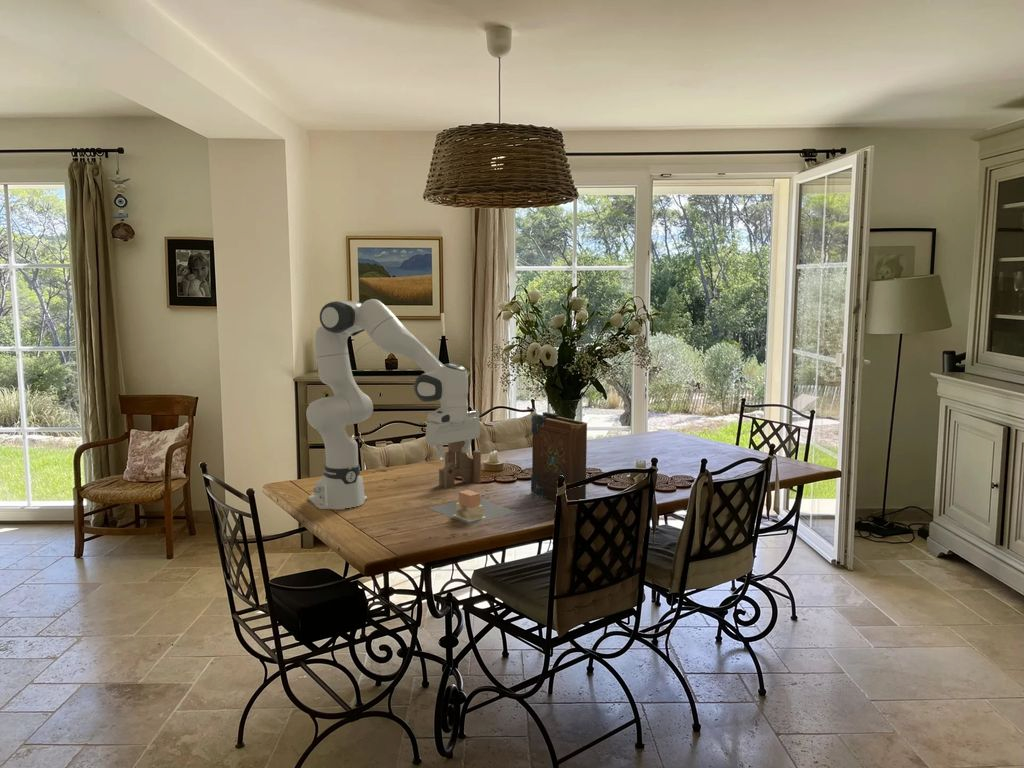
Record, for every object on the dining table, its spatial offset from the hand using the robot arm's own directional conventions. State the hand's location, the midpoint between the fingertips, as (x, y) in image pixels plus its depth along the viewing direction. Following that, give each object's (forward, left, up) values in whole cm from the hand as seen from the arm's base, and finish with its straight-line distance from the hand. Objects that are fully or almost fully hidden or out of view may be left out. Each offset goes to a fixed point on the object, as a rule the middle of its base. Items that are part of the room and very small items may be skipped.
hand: (453, 454), depth 246 cm
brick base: (+5, +2, -20) cm, 21 cm away
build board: (0, +7, -22) cm, 23 cm away
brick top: (+5, +2, -16) cm, 17 cm away
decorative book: (+7, +42, -22) cm, 48 cm away
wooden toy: (-32, +27, -22) cm, 47 cm away
